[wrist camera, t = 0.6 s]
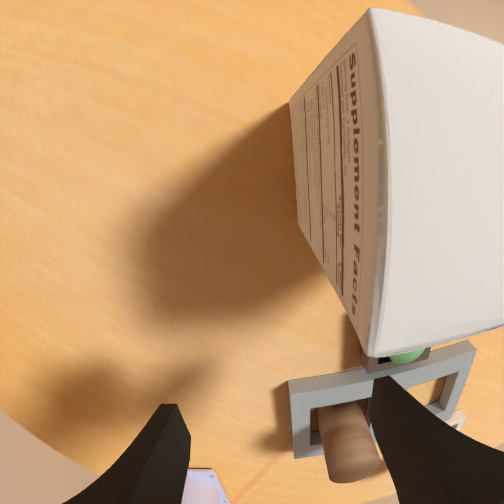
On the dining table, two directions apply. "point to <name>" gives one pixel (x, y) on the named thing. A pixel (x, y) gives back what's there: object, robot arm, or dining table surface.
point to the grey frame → (360, 386)
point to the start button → (406, 356)
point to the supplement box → (406, 179)
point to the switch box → (386, 361)
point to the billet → (347, 442)
